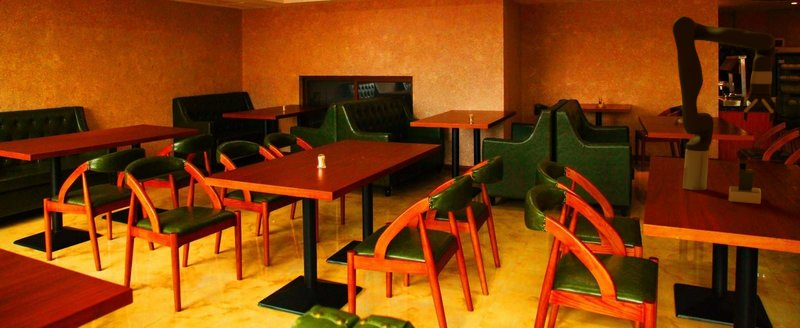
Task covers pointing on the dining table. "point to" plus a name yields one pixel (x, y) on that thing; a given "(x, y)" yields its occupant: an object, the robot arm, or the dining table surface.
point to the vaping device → (745, 177)
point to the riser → (744, 195)
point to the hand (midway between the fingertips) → (757, 121)
